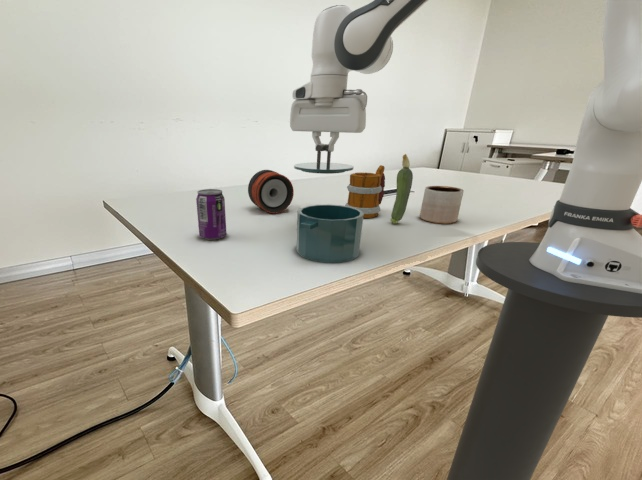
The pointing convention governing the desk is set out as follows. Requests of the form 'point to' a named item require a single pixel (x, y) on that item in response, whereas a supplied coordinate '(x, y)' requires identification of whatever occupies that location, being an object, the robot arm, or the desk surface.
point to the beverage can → (211, 214)
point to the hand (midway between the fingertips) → (324, 151)
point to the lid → (323, 164)
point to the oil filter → (270, 191)
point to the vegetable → (402, 190)
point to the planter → (441, 204)
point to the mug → (367, 192)
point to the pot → (329, 233)
